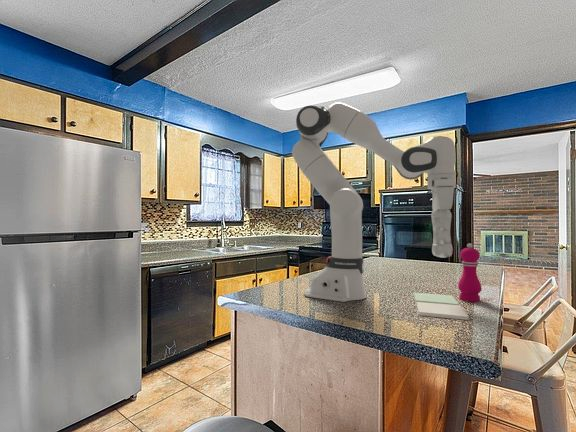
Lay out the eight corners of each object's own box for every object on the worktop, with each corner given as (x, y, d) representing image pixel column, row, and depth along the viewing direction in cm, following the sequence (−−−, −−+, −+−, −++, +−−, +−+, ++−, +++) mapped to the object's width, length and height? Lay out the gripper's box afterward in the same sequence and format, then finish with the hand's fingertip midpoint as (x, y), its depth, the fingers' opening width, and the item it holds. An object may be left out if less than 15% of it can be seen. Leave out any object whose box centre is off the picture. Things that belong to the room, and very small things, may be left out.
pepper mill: (485, 303, 107) (485, 244, 107) (462, 301, 108) (462, 243, 109) (476, 297, 114) (477, 242, 114) (455, 296, 116) (455, 242, 116)
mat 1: (415, 303, 106) (415, 300, 106) (413, 295, 117) (413, 292, 117) (459, 307, 102) (458, 303, 102) (452, 298, 113) (452, 295, 113)
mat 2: (419, 315, 92) (419, 311, 92) (416, 304, 104) (416, 301, 104) (468, 320, 88) (468, 316, 88) (460, 308, 100) (460, 305, 100)
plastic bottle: (443, 259, 104) (442, 199, 105) (427, 257, 111) (426, 200, 111) (457, 258, 107) (456, 199, 107) (441, 256, 113) (439, 200, 113)
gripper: (428, 186, 120) (428, 223, 120) (435, 180, 101) (434, 223, 100) (446, 186, 118) (446, 223, 118) (457, 179, 99) (456, 223, 98)
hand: (441, 223), depth 109 cm, fingers closed on plastic bottle, 6 cm apart
